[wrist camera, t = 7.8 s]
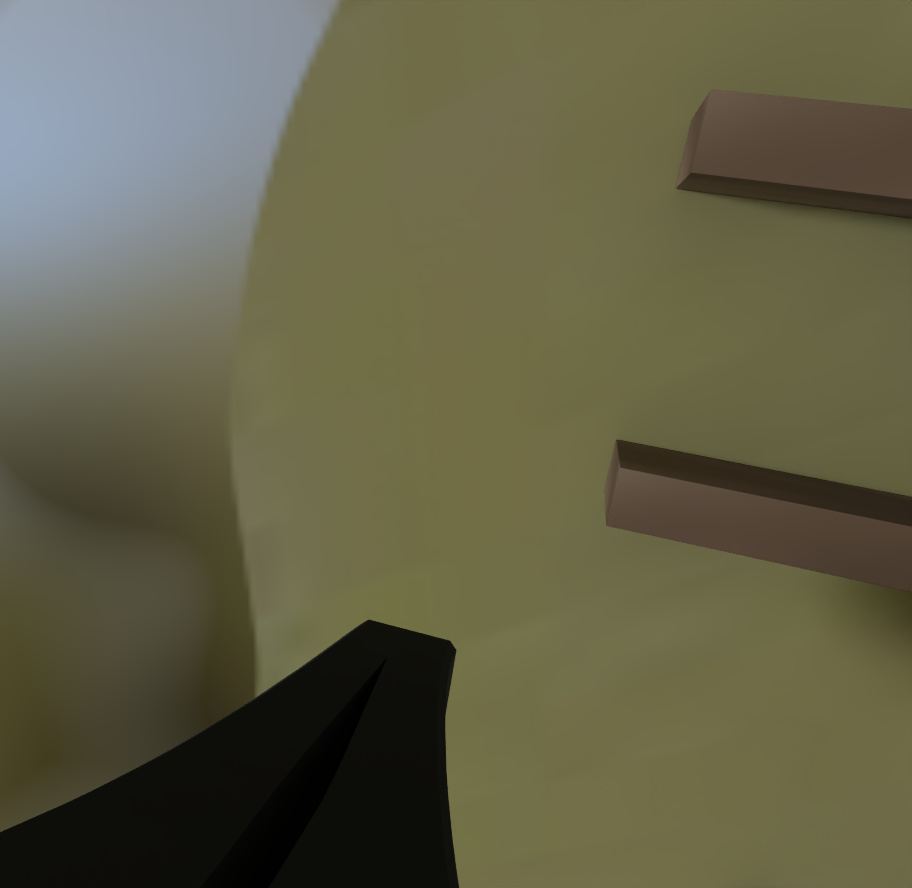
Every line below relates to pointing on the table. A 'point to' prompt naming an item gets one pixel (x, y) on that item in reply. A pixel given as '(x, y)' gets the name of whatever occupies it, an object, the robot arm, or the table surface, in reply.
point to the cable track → (752, 488)
